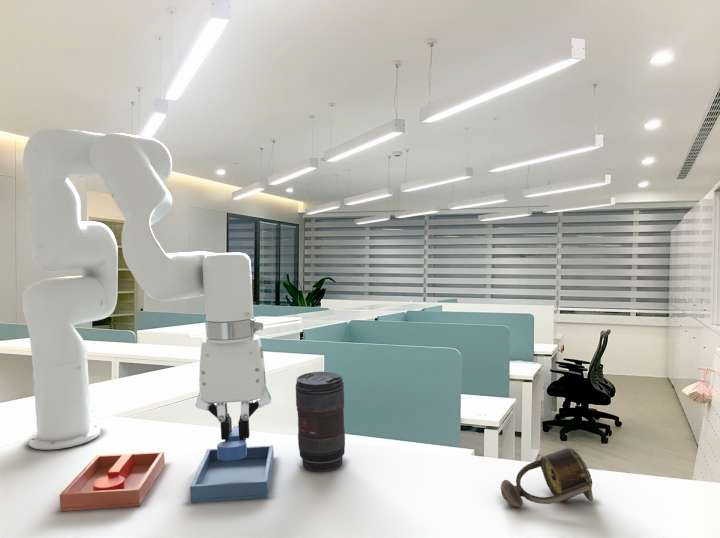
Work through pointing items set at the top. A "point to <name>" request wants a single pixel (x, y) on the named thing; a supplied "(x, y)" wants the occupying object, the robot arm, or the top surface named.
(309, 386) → the camera lens
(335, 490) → the top surface
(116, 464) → the red spoon
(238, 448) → the blue spoon
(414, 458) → the top surface
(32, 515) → the top surface
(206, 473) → the blue tray
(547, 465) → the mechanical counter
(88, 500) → the red tray
